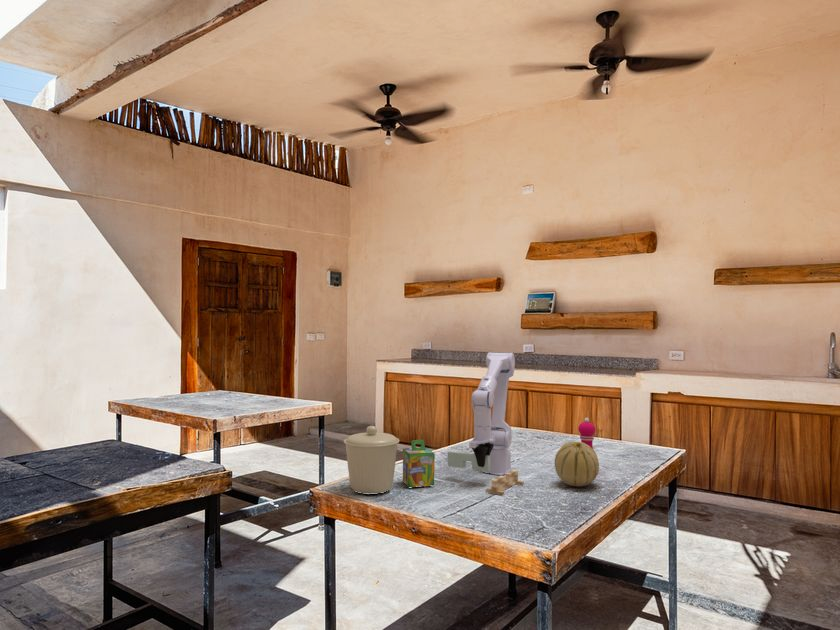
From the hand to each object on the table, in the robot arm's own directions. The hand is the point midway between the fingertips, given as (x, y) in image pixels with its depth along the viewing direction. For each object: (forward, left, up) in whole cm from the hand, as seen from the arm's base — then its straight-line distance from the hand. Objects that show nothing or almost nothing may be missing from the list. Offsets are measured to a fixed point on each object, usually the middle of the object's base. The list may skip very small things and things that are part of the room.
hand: (482, 465), depth 194 cm
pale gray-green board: (0, -5, -2) cm, 6 cm away
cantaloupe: (-17, +27, -6) cm, 32 cm away
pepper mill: (-36, +24, -6) cm, 43 cm away
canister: (+28, -25, -6) cm, 38 cm away
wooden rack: (0, +9, -6) cm, 11 cm away
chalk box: (+13, -17, -6) cm, 23 cm away
